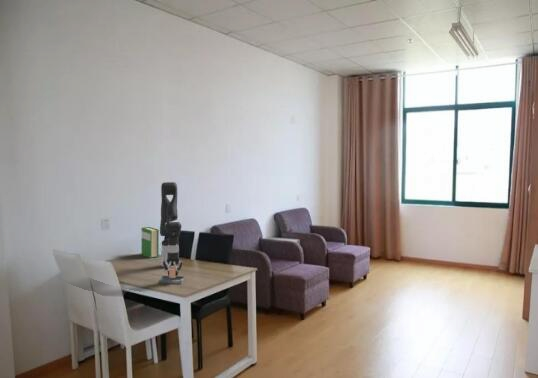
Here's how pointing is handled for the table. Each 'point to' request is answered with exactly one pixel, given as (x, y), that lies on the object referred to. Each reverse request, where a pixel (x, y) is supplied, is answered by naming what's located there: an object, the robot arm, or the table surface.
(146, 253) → the hardback book
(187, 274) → the table surface
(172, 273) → the salmon pink block
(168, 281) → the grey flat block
